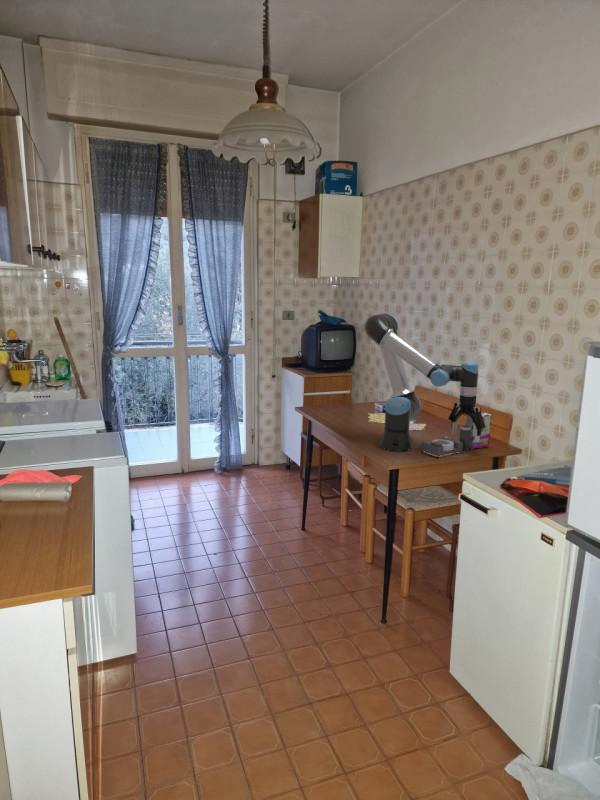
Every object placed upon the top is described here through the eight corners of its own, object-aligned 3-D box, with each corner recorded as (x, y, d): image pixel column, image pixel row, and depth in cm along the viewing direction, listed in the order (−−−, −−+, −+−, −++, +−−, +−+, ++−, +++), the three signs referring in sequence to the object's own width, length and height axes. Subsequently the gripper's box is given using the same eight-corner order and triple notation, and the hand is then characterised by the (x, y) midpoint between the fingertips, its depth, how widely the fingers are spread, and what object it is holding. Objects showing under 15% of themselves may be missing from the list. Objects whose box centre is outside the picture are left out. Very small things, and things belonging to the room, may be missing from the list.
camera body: (437, 458, 244) (438, 445, 243) (421, 452, 252) (422, 440, 251) (462, 452, 253) (463, 440, 251) (445, 447, 261) (446, 435, 260)
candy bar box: (481, 444, 266) (484, 412, 262) (489, 447, 261) (492, 414, 258) (463, 446, 262) (466, 414, 258) (470, 449, 257) (473, 416, 253)
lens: (464, 451, 255) (466, 427, 252) (456, 448, 259) (458, 425, 256) (470, 449, 257) (472, 426, 255) (463, 446, 261) (464, 423, 259)
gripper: (495, 398, 244) (492, 443, 248) (453, 389, 264) (450, 431, 269) (484, 400, 240) (481, 446, 244) (442, 391, 260) (440, 433, 265)
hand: (465, 438), depth 257 cm, fingers open, 13 cm apart
